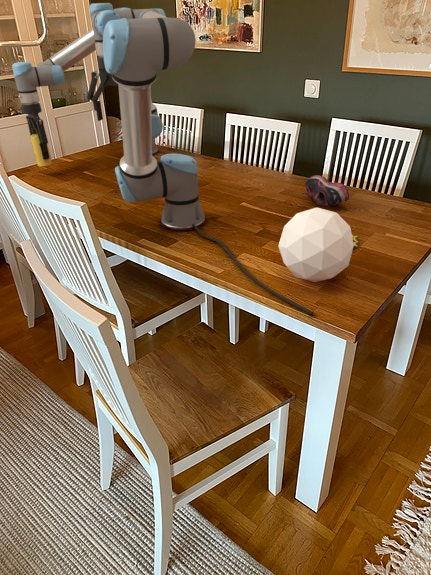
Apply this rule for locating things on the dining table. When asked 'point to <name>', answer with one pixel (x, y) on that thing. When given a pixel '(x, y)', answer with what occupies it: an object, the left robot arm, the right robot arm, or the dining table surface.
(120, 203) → the dining table surface
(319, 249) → the sphere
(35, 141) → the can
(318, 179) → the athletic shoe
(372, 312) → the dining table surface
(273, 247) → the dining table surface
